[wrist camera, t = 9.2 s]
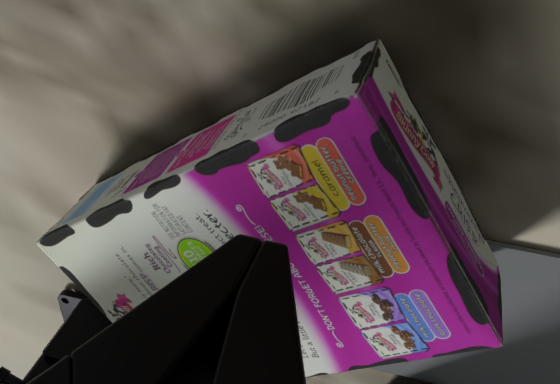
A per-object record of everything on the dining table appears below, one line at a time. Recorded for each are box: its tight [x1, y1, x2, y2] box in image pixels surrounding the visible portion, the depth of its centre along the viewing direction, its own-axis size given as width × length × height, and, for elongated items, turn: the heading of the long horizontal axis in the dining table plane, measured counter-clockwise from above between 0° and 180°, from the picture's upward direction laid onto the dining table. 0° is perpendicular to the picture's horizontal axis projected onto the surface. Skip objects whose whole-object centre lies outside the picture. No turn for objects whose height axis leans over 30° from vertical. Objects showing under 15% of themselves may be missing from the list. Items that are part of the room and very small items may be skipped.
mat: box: [369, 240, 560, 384], centre depth 26 cm, size 10×14×1 cm
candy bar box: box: [36, 39, 503, 378], centre depth 23 cm, size 11×5×16 cm
